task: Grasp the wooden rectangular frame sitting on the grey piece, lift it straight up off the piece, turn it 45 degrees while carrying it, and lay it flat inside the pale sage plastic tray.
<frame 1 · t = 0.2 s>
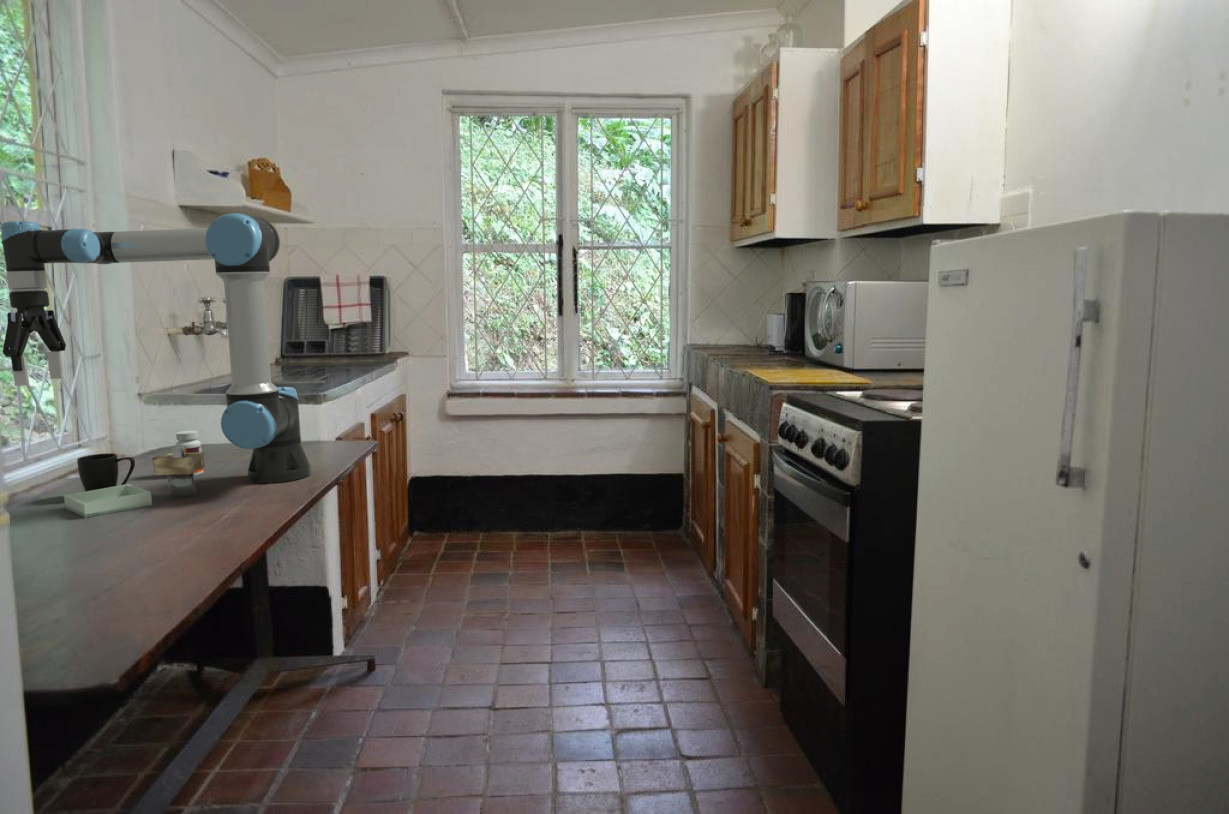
hand: (40, 382, 206), 28 cm above the table, fingers open, 13 cm apart
grey piece: (183, 495, 208), on the table
pill bottle: (191, 475, 232), on the table
wooden rectangular frame: (180, 470, 207), point 6 cm above the table, touching grey piece
tray: (108, 506, 200), on the table
mug: (110, 496, 211), on the table
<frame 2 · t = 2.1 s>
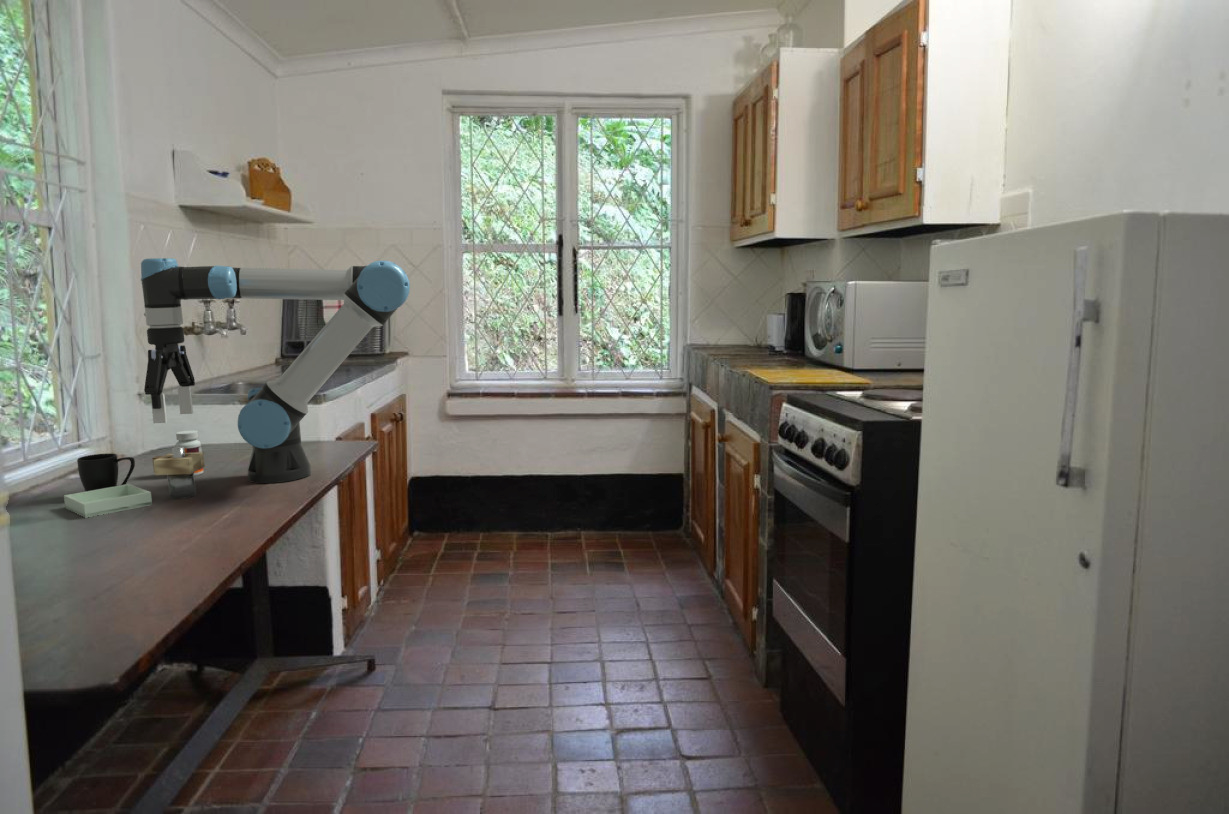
hand: (173, 418, 205), 18 cm above the table, fingers open, 13 cm apart
nothing on the table moved.
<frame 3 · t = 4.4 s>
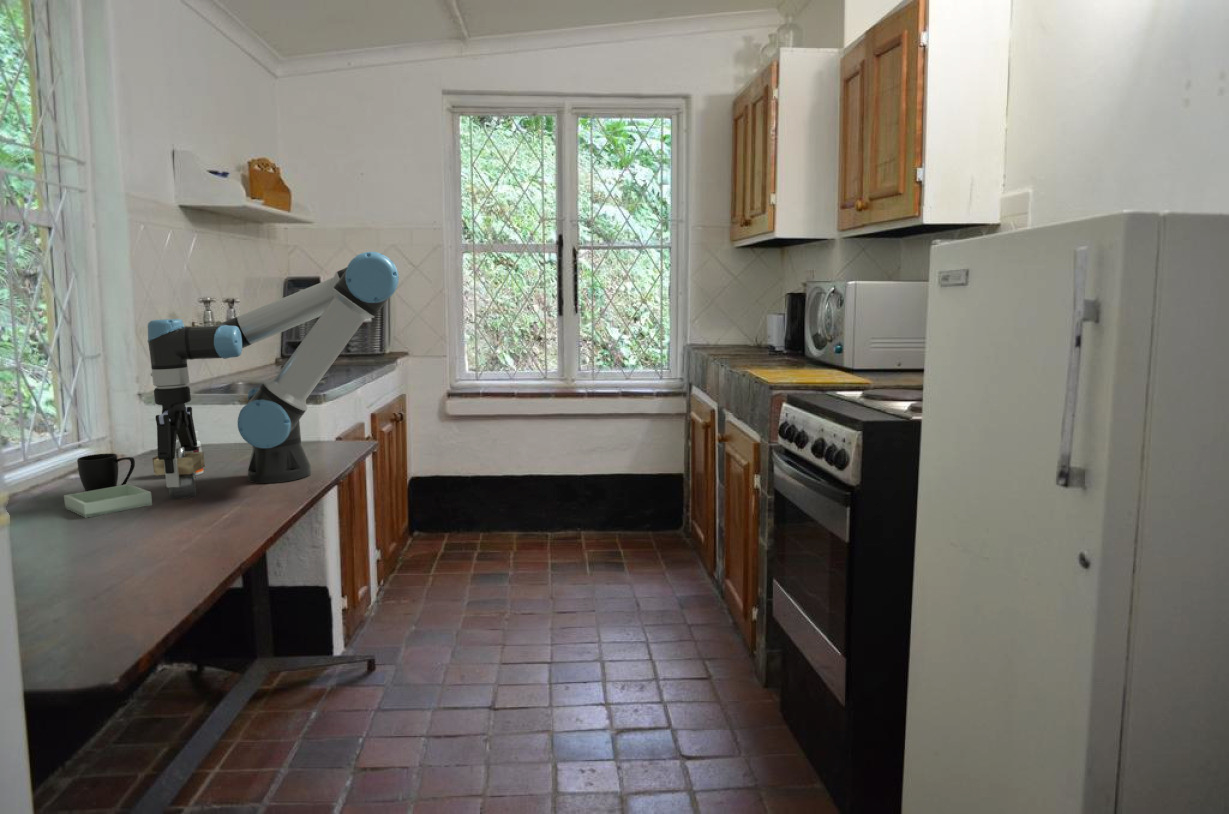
hand: (181, 482, 208), 3 cm above the table, fingers closed on wooden rectangular frame, 8 cm apart
wooden rectangular frame: (180, 470, 207), point 6 cm above the table, touching gripper, grey piece
everything else where it was.
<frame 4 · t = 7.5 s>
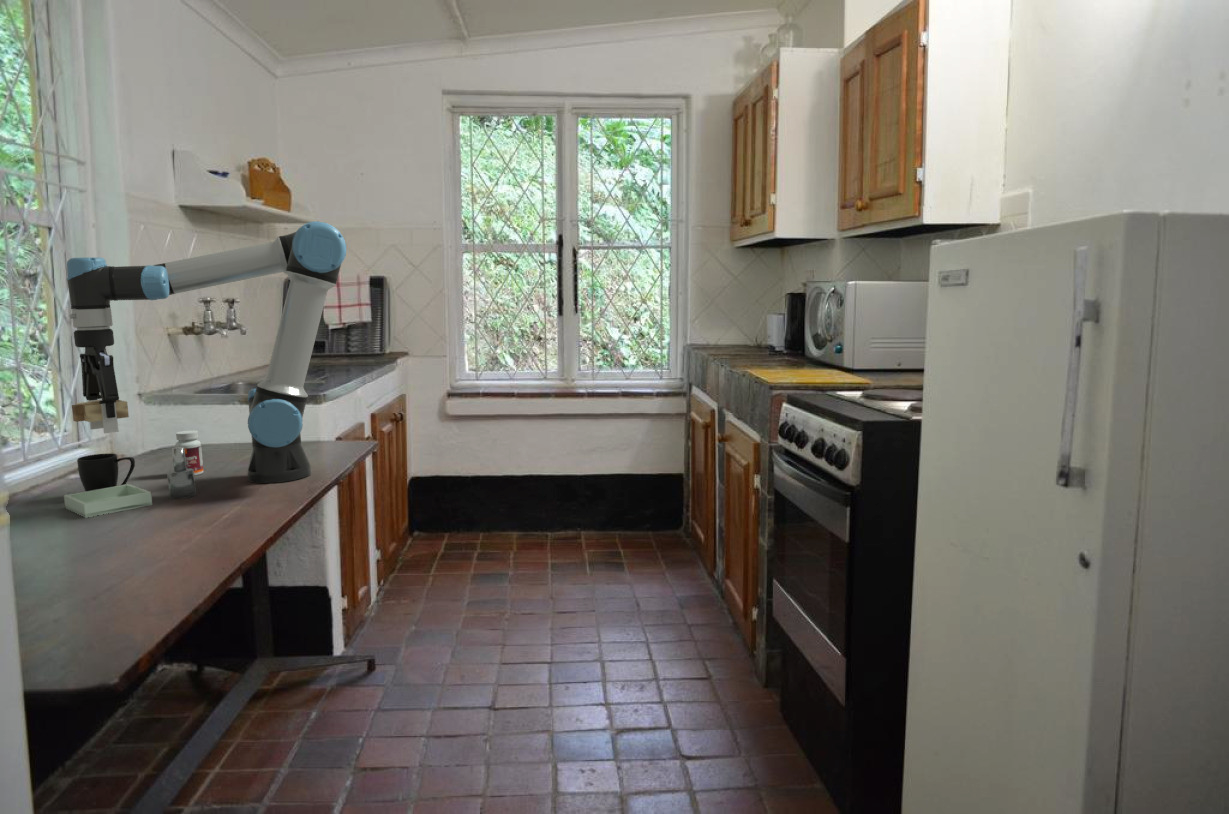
hand: (104, 430, 198), 17 cm above the table, fingers closed on wooden rectangular frame, 8 cm apart
wooden rectangular frame: (102, 417, 197), point 20 cm above the table, touching gripper
everything else where it was.
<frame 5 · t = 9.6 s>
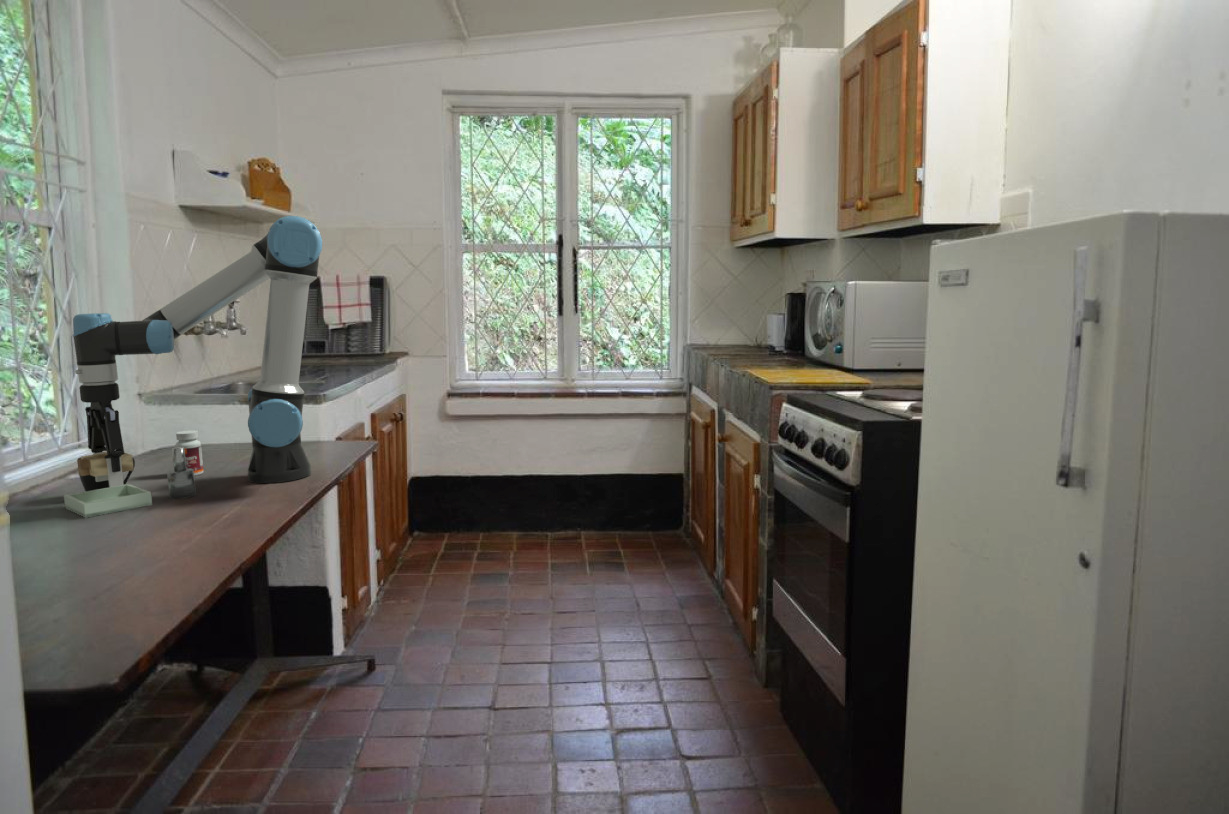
hand: (109, 483, 199), 5 cm above the table, fingers closed on wooden rectangular frame, 8 cm apart
wooden rectangular frame: (108, 471, 199), point 8 cm above the table, touching gripper
everything else where it was.
when the fingers open (3 cm above the table, at t = 11.1 s): wooden rectangular frame drops 5 cm, resting on tray.
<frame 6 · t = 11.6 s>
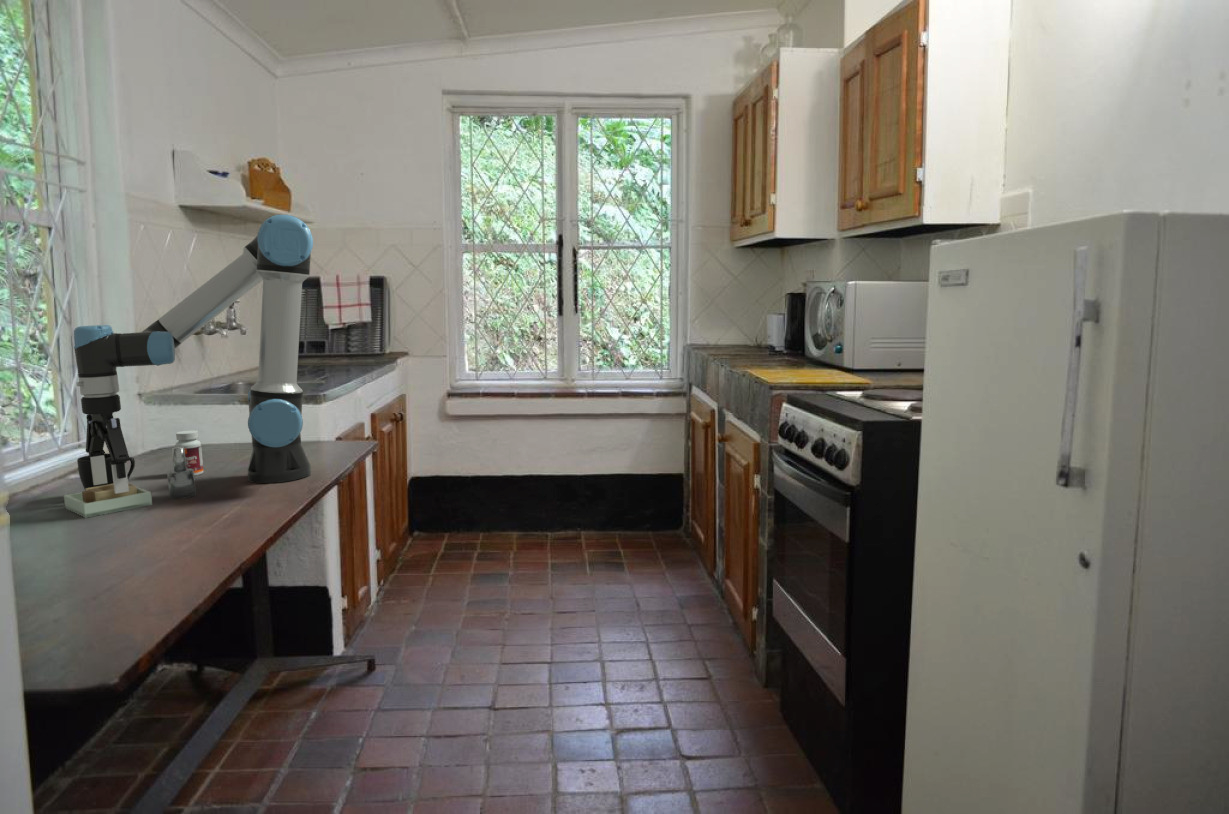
hand: (110, 488, 200), 4 cm above the table, fingers open, 13 cm apart
wooden rectangular frame: (112, 502, 200), point 1 cm above the table, touching tray
everything else where it was.
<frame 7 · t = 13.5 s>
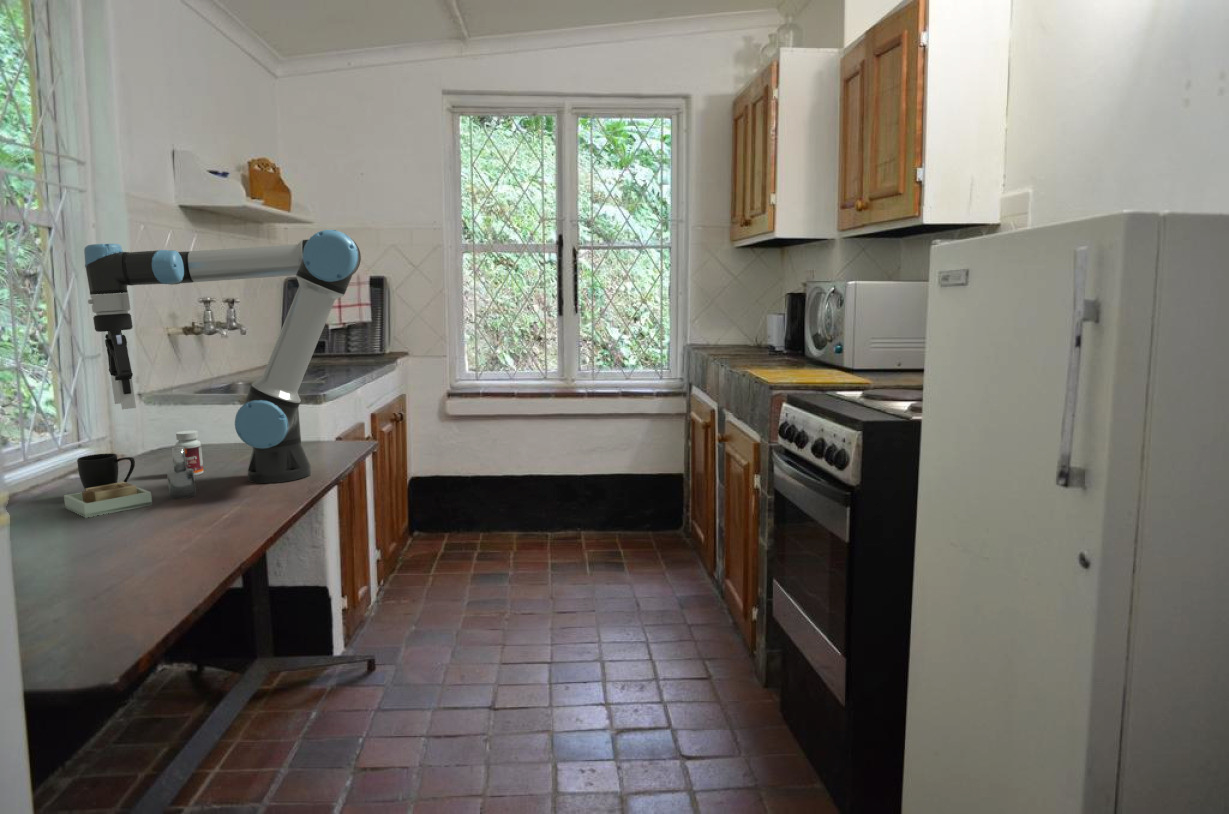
hand: (125, 405, 203), 22 cm above the table, fingers open, 13 cm apart
nothing on the table moved.
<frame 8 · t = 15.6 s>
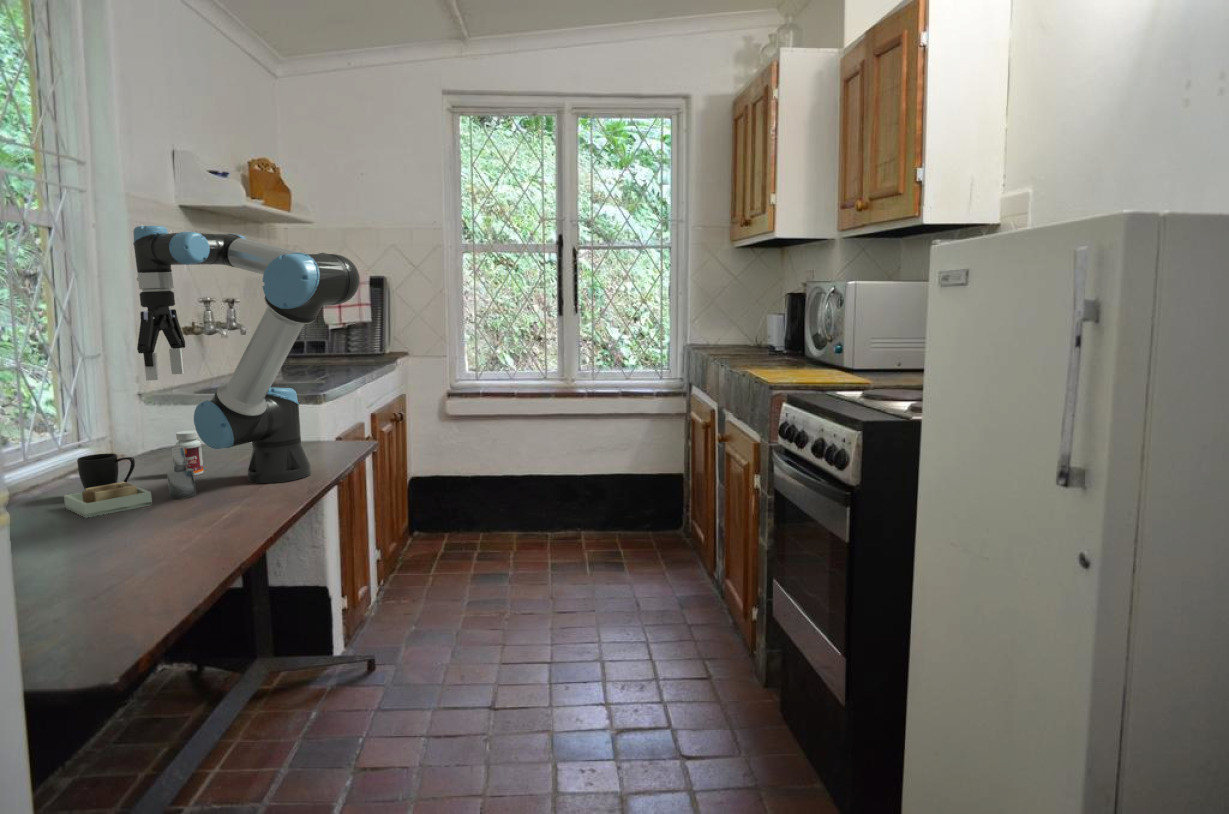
hand: (165, 377, 219), 27 cm above the table, fingers open, 13 cm apart
nothing on the table moved.
at the end: wooden rectangular frame 0.8 cm from the tray (horizontally); wooden rectangular frame point 0.8 cm above the table; wooden rectangular frame tilted 0° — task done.
